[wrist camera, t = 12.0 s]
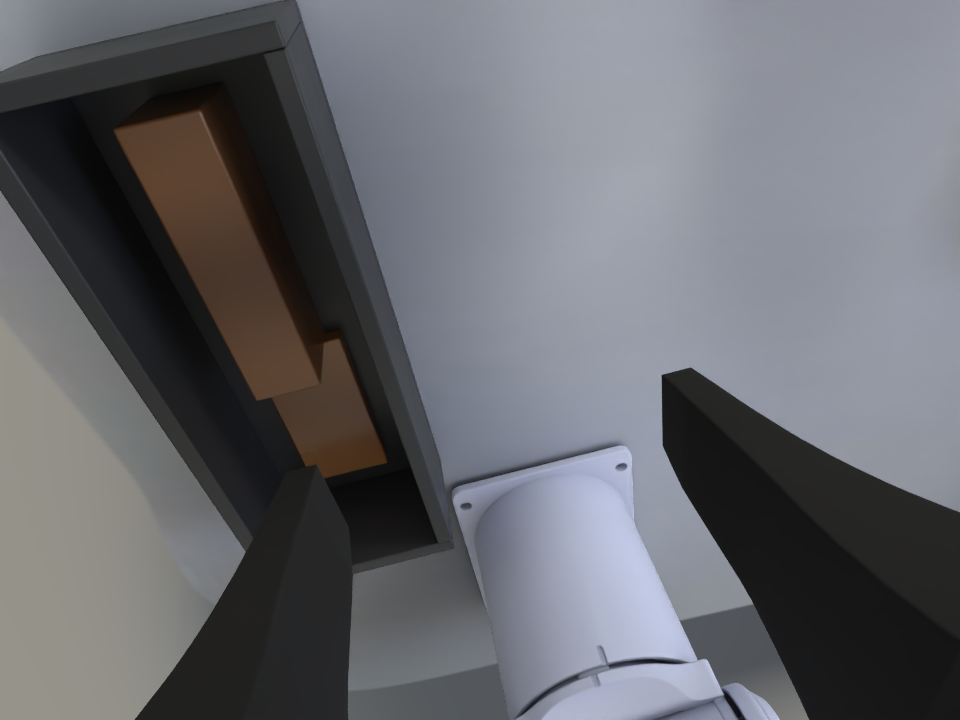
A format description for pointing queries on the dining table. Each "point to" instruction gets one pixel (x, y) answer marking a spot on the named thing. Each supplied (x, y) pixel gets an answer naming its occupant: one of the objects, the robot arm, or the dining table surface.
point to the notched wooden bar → (250, 273)
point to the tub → (170, 290)
